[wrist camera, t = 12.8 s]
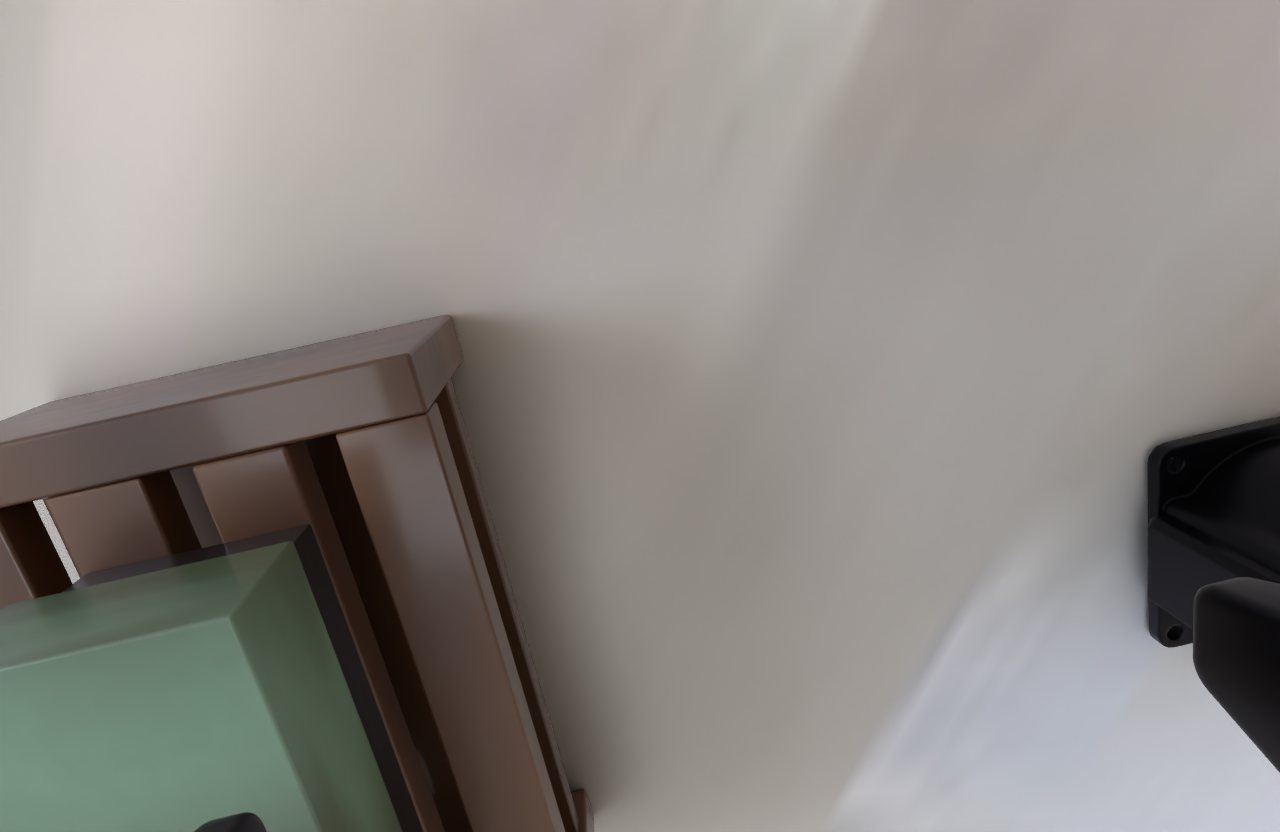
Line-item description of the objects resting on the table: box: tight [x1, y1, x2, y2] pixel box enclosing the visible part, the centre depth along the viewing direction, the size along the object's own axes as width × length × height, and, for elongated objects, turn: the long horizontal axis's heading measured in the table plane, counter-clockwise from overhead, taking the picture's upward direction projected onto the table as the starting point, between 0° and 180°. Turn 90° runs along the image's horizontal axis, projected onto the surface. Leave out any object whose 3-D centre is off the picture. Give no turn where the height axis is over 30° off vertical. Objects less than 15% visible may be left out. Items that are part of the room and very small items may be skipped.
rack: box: [0, 315, 594, 832], centre depth 18 cm, size 10×16×5 cm, turn 12°
